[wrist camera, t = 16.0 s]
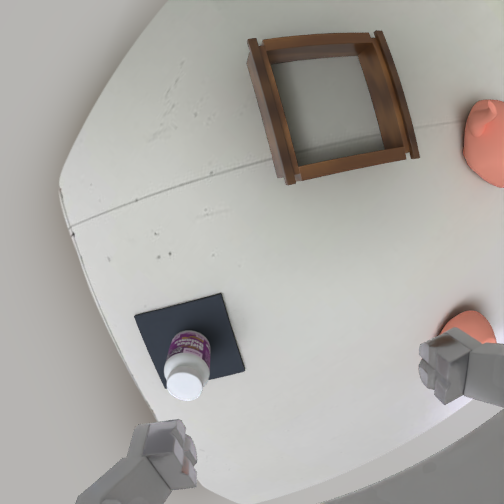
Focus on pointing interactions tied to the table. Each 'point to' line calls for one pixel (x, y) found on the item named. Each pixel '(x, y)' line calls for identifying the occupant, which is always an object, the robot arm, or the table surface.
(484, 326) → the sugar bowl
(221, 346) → the coaster
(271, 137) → the wooden square frame
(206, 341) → the pill bottle
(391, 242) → the table surface
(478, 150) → the teapot
